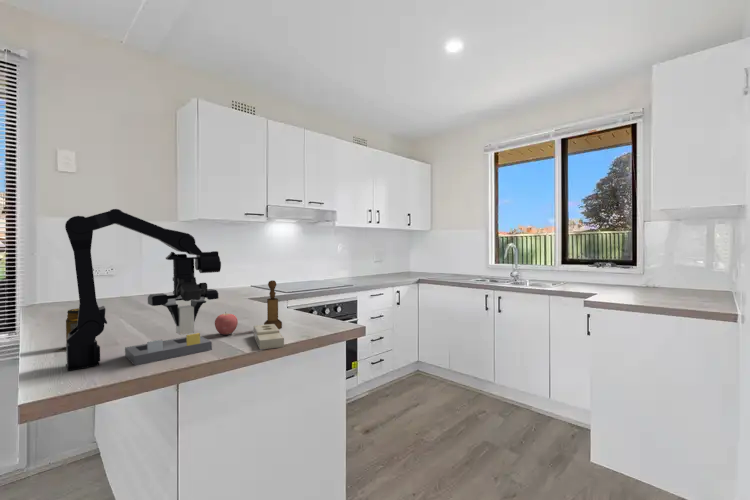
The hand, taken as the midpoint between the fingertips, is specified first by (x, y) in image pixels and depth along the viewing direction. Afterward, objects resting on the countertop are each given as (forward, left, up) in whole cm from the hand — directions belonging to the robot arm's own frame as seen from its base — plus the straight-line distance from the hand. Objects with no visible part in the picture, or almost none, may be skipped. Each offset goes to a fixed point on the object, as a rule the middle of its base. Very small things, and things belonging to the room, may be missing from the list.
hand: (185, 324), depth 115 cm
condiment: (-24, +26, -8) cm, 36 cm away
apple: (+16, +8, -8) cm, 20 cm away
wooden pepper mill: (+32, +4, -8) cm, 33 cm away
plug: (0, 0, -2) cm, 2 cm away
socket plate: (-5, -2, -7) cm, 9 cm away
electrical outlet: (+22, -11, -8) cm, 26 cm away
